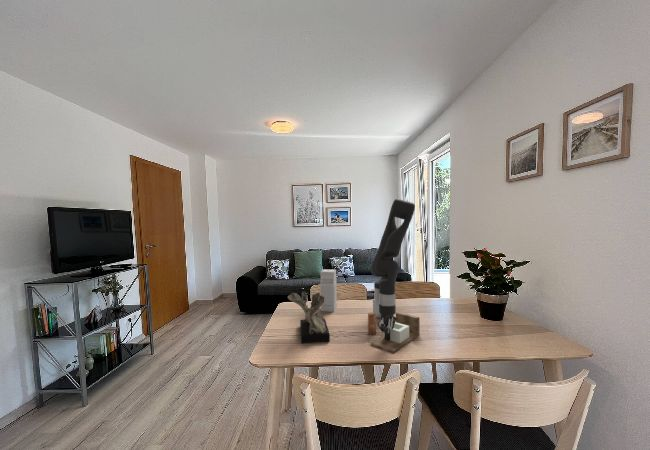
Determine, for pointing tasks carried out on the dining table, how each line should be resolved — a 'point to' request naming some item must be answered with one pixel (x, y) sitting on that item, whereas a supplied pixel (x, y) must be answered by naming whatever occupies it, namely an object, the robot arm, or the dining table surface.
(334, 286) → the box
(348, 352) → the dining table surface
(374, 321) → the dowel
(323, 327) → the coral
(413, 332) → the walnut angle bracket
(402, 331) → the hole block
